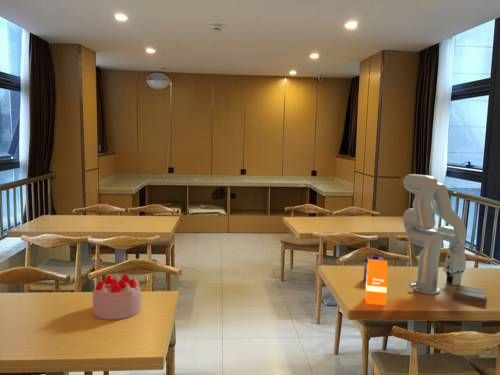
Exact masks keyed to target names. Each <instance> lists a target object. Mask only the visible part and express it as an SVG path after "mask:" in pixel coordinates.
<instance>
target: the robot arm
mask: <svg viewBox="0 0 500 375" xmlns="http://www.w3.org/2000/svg"><path fill="white" fill-rule="evenodd" d="M403 186H404V188H405V189H406V190H407V191H408V192H410V193H412V194H414V195H416V196H415V197H414V199H413V201H412V207H410V208H408V209H406V210H404V213H403V216H402V223H403V227H404V230H405V233H406V237H407V239H408V241H409V243H411V244H413V245H416V246H420V247H423V248H422V249H421V251H420V252H419V253H418V254H419V255H418V265H417V266H418V267H417V277H416V278H417V280H415V281H414V283H409V285H408V286H409V288H413V290H414V291H415V292H418V293H421V294H425V295H438V294H440V293H441V289H440V288H439V287H438V281H439V280H438V277H439V266H440V265H439V264H440V255H441V249H442V246H443V242H444V241H445V242H448V248H447V253H446V257H445V264H444V265H445V266H444V268H443V270H442V271H443V272H444V273H445V275H446V278H447V282H448V283H447V282H446V283H447V284H449V283H450V285H451V284H452V277H453V276H452V273H453V272H454V271H456V272H459V273H461V274H462V275H463V273H465V270H466V269H467V268H466V267H467V265H466V263H467V257H466V252H465V246H466V240H467V228H466V225H465V222H464V221H463V219H462V218H461V217H460V215H458V213H457V211H454V209H453V208H452V205H451V204H452V203H451V200H450V196H449V192H448V189H447V188H448V187H447V186H446V185H445V183H442V182H438V179H437V178H436V177H435V176H432V175H426V174H416V173H410V174H407V175H406V176H404V179H403ZM435 215H436V216H438V218H440V219H441V220H443V221H445V222H446V223H448V224H449V225H443V226H442V225H441V226H440V227H438V228H437V229H434V228H435V226H436V219H435ZM450 271H451V272H450Z"/></svg>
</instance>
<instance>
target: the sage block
mask: <svg viewBox="0 0 500 375" xmlns="http://www.w3.org/2000/svg"><path fill="white" fill-rule="evenodd" d="M450 272H451V271H450ZM462 275H463V273H462V274H461V273H459V272H456V271H454V272H453V273H452V276H453V277H452V284H450V283H448V282H447V277H446V280H445V282H446V283H447V284H450V285H452V286H457V285H461V286H462Z"/></svg>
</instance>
